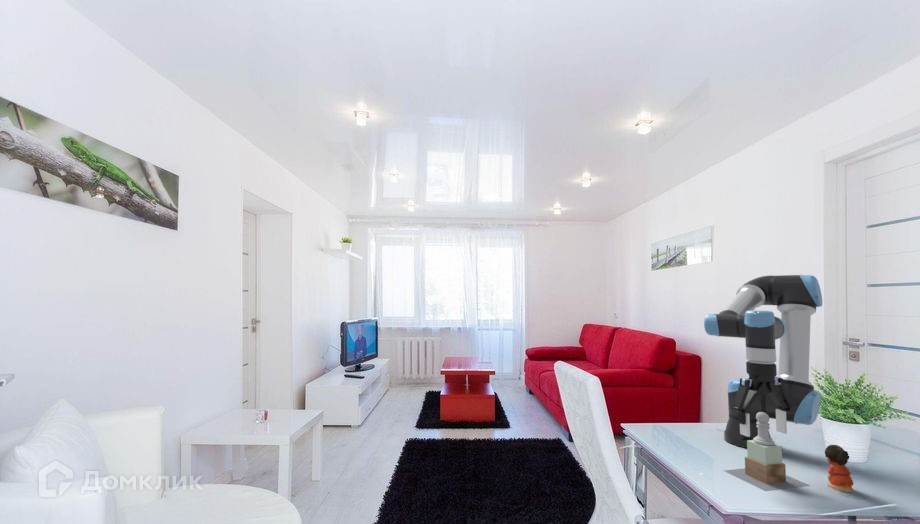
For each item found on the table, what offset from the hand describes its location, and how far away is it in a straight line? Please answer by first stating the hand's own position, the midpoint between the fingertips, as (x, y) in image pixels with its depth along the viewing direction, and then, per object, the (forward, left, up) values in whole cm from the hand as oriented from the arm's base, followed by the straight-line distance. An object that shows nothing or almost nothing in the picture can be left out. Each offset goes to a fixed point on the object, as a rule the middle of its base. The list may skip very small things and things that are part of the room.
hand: (763, 433), depth 129 cm
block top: (0, 0, -8) cm, 8 cm away
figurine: (-15, +10, -13) cm, 22 cm away
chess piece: (0, 0, -3) cm, 3 cm away
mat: (0, 0, -13) cm, 13 cm away
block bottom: (0, 0, -13) cm, 13 cm away
